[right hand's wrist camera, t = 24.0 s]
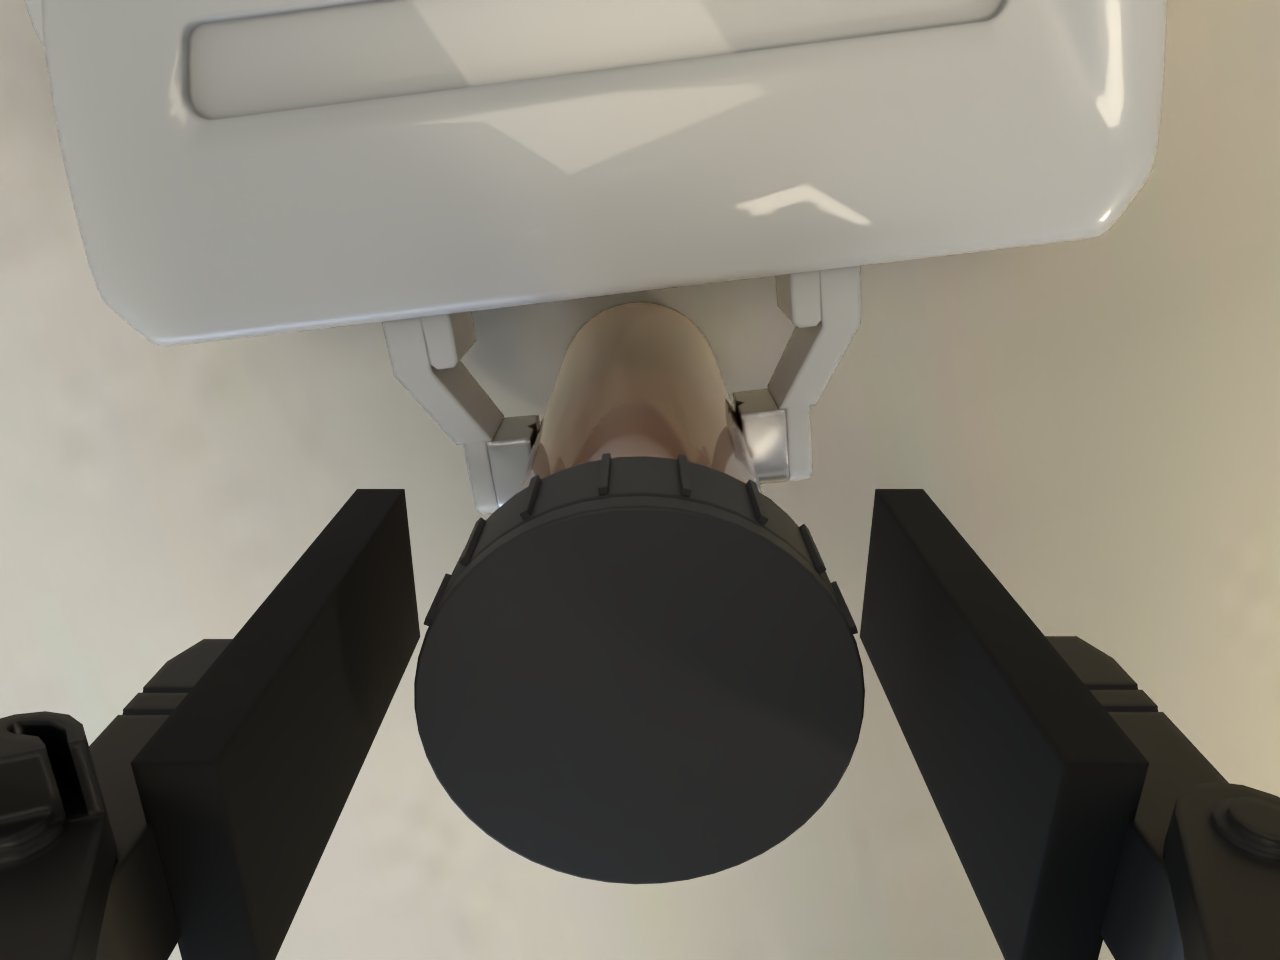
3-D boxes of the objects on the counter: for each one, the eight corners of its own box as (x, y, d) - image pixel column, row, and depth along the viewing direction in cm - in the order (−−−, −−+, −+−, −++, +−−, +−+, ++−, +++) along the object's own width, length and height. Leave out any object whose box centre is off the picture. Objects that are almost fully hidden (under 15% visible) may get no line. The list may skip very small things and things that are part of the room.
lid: (727, 372, 11) (742, 413, 9) (901, 705, 12) (939, 789, 11) (359, 565, 12) (315, 632, 10) (569, 849, 13) (560, 944, 12)
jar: (659, 269, 24) (685, 438, 10) (747, 398, 26) (878, 703, 12) (530, 361, 25) (391, 633, 11) (622, 481, 27) (601, 857, 12)
